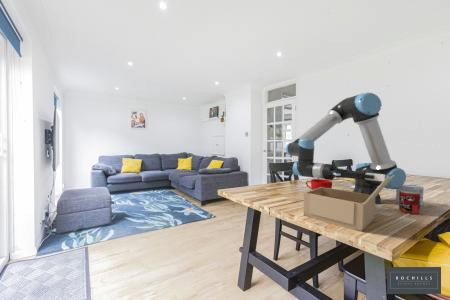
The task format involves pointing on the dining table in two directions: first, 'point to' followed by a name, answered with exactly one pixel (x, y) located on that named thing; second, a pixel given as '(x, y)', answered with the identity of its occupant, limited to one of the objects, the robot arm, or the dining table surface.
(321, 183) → the ceramic cup
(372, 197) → the carton flap
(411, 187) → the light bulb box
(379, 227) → the dining table surface
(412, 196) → the canned food
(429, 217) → the dining table surface
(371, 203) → the carton
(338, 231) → the dining table surface
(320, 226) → the dining table surface
